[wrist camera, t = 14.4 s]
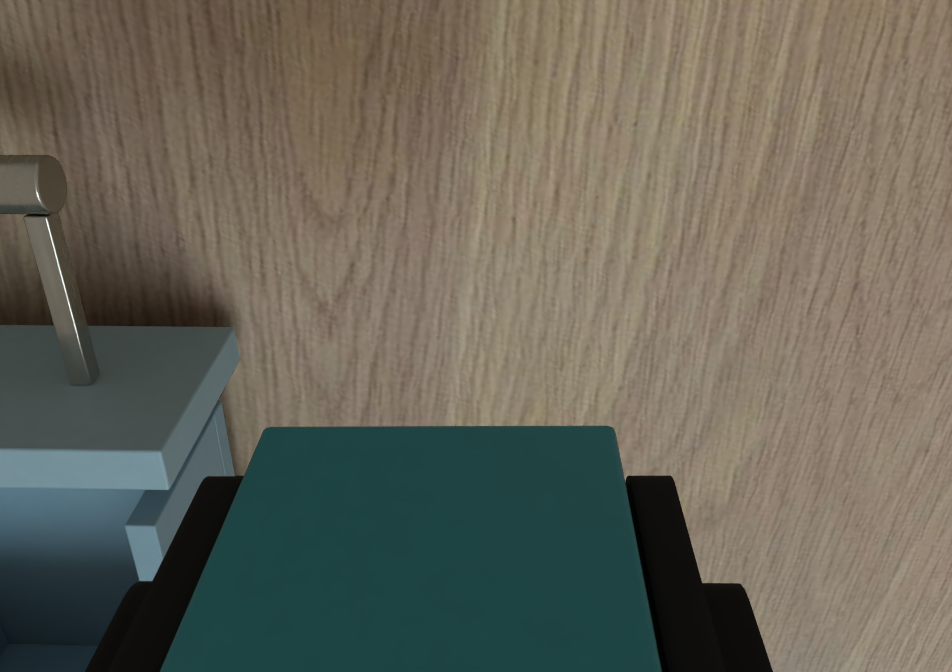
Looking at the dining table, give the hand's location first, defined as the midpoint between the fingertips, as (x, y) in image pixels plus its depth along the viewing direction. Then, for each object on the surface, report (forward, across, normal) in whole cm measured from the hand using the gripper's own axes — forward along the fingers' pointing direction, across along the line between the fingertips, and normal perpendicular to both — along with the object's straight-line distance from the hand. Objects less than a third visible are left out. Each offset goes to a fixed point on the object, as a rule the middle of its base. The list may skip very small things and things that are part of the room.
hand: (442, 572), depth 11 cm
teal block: (0, 0, 0) cm, 0 cm away
